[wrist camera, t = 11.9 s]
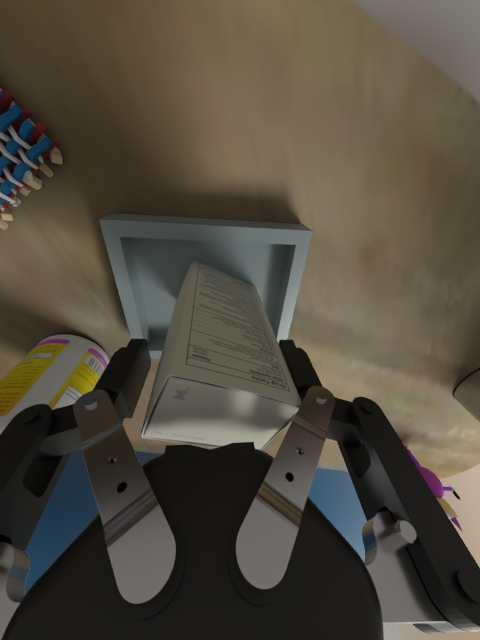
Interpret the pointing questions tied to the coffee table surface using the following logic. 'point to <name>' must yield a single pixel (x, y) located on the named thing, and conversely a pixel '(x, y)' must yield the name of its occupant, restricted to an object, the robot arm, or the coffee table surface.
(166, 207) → the coffee table surface
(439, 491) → the wizard figurine
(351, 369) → the coffee table surface
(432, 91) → the coffee table surface
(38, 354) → the supplement bottle
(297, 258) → the tray
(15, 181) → the woven mat
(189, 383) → the skincare box
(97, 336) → the coffee table surface
